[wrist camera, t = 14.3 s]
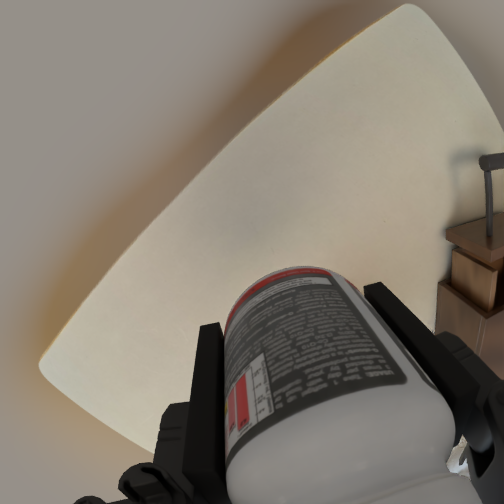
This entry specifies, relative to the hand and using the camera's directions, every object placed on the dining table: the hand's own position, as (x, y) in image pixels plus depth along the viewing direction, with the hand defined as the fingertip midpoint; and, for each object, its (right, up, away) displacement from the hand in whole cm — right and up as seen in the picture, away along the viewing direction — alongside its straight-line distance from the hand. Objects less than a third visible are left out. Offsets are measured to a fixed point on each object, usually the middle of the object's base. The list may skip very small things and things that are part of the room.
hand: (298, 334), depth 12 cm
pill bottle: (0, 0, 0) cm, 1 cm away
